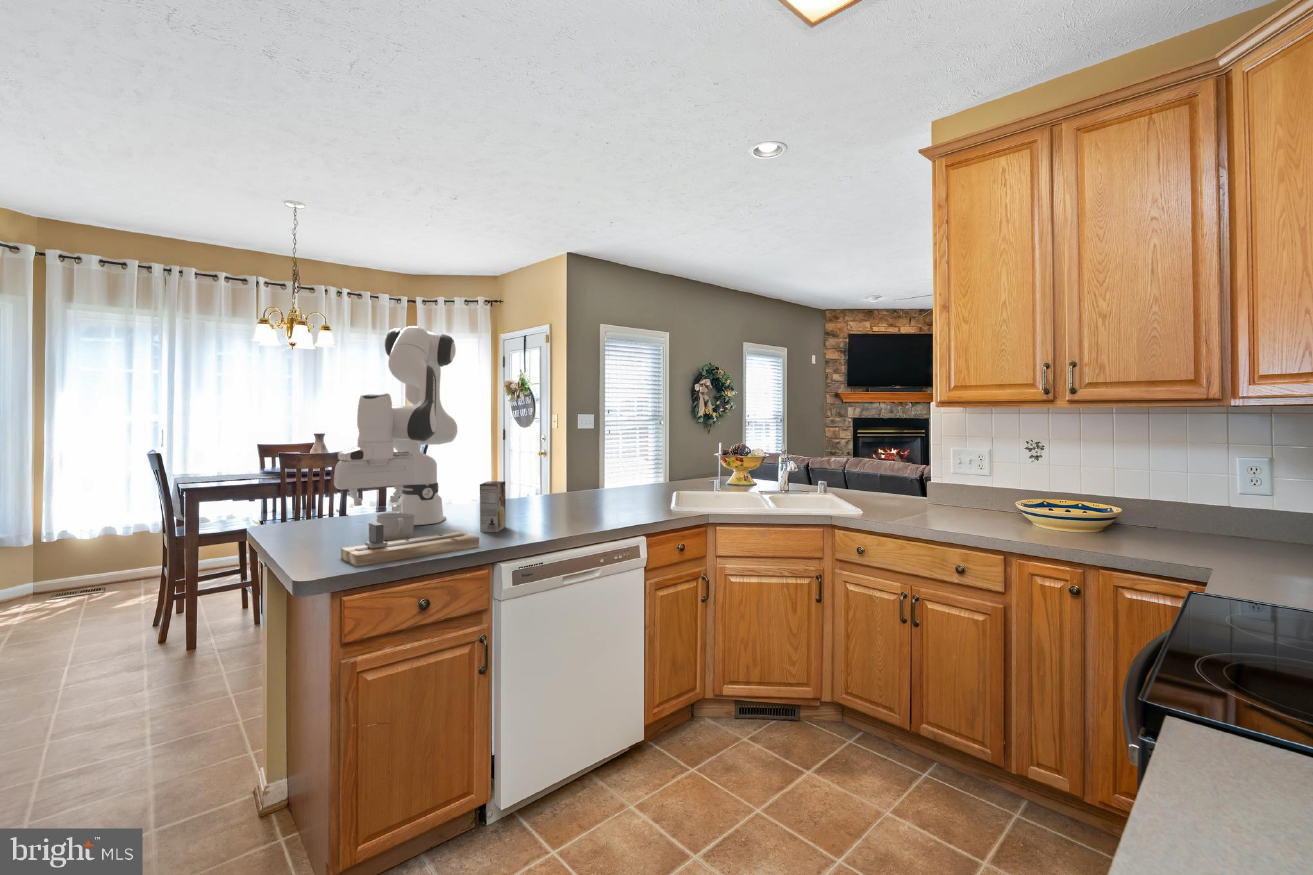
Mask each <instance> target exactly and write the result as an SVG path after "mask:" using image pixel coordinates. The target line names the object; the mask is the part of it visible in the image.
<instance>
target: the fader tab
mask: <svg viewBox="0 0 1313 875" xmlns="http://www.w3.org/2000/svg"><path fill="white" fill-rule="evenodd" d="M387 542H388V541H386V540H384V537H383V524H380V523H378V522H377V521H373V522H369V523H368V541H365V542H364V545H365V546H368V547H370V548H378V547H385V546H387Z"/></svg>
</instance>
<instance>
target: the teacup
mask: <svg viewBox="0 0 1313 875" xmlns="http://www.w3.org/2000/svg"><path fill="white" fill-rule="evenodd" d="M414 516H415V515H414V514H409V513H394V512H386V513H379V514H377V515H376V522H378V523H380V524H383V537H384V541H386V542H388V541H396V540H403V539H409V537H410V536H411V535H412V534H413V532H414V528H415V527H414V526H415V525H414Z"/></svg>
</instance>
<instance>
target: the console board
mask: <svg viewBox="0 0 1313 875" xmlns="http://www.w3.org/2000/svg"><path fill="white" fill-rule="evenodd" d="M386 542H387V546H385V547H378V548H370V547H368V546H365V544H359V545H353V546H345V547H341V548H340V559H341V560H343V561H345V562H348V563H349V564H351V565H353V566H355V567H361V566H367V565H372V564H373V565H374V564H380V563H386V562H393V561H397V560H398V561H399V560H405V559H406V560H407V559H410V558H417V557H424V556H431V555H436V554H443V553H449V552H450V553H451V552H455V551H456V552H457V551H461V550H467V549H473V548H479V547H480V537H479V536H475V535H473V534H469V533H465V532H462V531H456V532H449V533H439V534H434V535H426V536H418V537H413V538H407V539H403V540H396V541H386Z"/></svg>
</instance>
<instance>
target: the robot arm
mask: <svg viewBox="0 0 1313 875" xmlns="http://www.w3.org/2000/svg"><path fill="white" fill-rule="evenodd" d="M456 349H457V348H456V344H455V341H454V338H452V336H450V335H447V334H444V333H441V334H440V333H437V332H433V331H429V330H426V329H424V328H422V327H420V326H415V325H412V326H411V325H410V326H407V327H404V328H401V327H400V328H398V327H397V328H393V329H390V330H389V331H387V334H386V336H385V339H384V350H385V354H386V355H387V356H388V361H387V363H388V369H389V370H390V373H391V375H393V377H395V378H396V379H397V380H398V381H399V382H402V383H403V384H405V397H406V399H407V401H408V402H409V403H410V404H412V405H393V403H392V396H391V394H390V393H387V392H381V391H380V392H378V391H377V392H374V391H373V392H367V393H363V394H362V395H360V397H359V400H358V404H357V405H358V406H357V416H356V422H357V424H356V425H357V429H358V438H357V446H355V447H352V448H347V449H345V450H342V451H339V452H338V454H337V459H338V460H339V461H337V463H336V465H335V467H334V474H333V475H334V476H333V485H334V487H335V488H336V489H337V490H348V493H349V495H350V496H351V498H352V499H353V506H355V507H359V506H362V505H363V503H362V502H363V499H362V498H359V497H358V496H357V494H356V493H358V490H359V489H369V488H372V489H373V488H382V487H384V488H385V487H393V489H394V490H395V492H394V493H393V495H390V498H389V501H390V503H394V505H392V506H391V511H392V512H391V513H409V514H414V515H415V516H414V526H421V525H422V526H423V525H424V526H425V525H432V524H438V523H441V522H443V521H445V520H447V516H446V515H444V511H443V501H442V500H443V499H442V497H441V496H440V495H439V488H440V487H439V482H438V463H437V461H436V459H434V458H433V457H432V456H430V455H428V454H427V453H426V454H425V453H424V452H421V450H420V446H424V445H425V446H431V445H433V446H434V445H443V444H448V443H452V442H453V441H454V440H455V438H456V436H457V434H458V425H457V422H456V421H455V419H454V418H453V416H450V415H449V413H447V412H446V410H445V409H444V408H443V406H442V401H441V398H440V397H441V390H440V388H441V368H442V367H444V366H449V365H450V364H452V363H453V360H454V358H455V356H456V351H457V350H456ZM394 449H395V450H396V451H395V450H394ZM400 495H401V496H400ZM399 496H400V497H399Z"/></svg>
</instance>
